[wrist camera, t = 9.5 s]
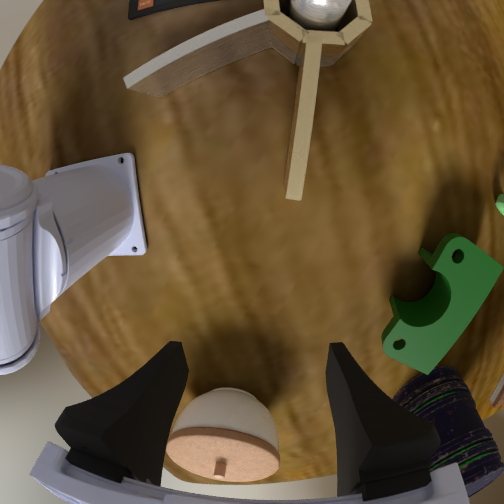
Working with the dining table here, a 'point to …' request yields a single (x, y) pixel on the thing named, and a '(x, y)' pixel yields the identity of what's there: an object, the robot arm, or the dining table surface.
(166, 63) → the tan ring with arms
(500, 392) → the grey boxy piece
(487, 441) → the storage jar
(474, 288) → the clamp
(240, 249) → the dining table surface
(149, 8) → the calculator
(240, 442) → the lidded jar
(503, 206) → the wrench
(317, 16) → the hinge pin
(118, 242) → the robot arm
